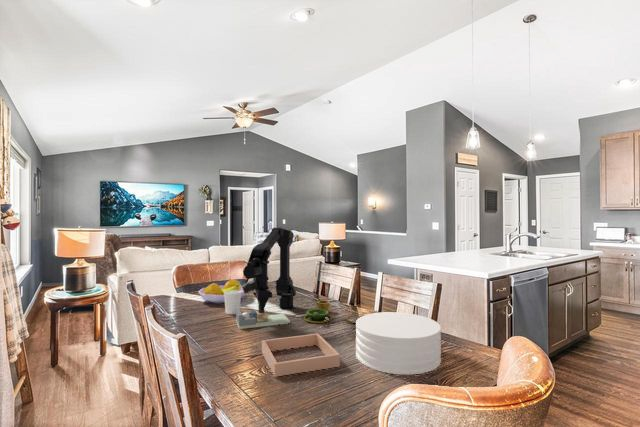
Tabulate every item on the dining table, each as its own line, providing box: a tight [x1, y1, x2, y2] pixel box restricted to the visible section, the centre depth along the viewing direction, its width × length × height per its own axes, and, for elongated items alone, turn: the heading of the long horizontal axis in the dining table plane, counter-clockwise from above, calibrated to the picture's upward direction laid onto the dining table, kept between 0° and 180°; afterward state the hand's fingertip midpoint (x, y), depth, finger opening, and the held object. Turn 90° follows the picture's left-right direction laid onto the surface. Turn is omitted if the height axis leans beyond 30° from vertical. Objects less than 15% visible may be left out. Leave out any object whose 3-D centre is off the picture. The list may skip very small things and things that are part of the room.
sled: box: [251, 300, 269, 322], centre depth 160 cm, size 6×6×8 cm
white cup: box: [224, 290, 242, 315], centre depth 175 cm, size 8×8×10 cm
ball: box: [242, 311, 250, 319], centre depth 158 cm, size 4×4×4 cm
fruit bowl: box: [197, 278, 247, 304], centre depth 199 cm, size 28×27×11 cm
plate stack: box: [355, 311, 442, 374], centre depth 122 cm, size 28×28×12 cm
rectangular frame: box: [261, 332, 341, 377], centre depth 120 cm, size 21×21×4 cm
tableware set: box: [295, 299, 364, 329], centre depth 160 cm, size 41×28×6 cm
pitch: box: [235, 308, 291, 330], centre depth 160 cm, size 22×12×6 cm, turn 110°
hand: (261, 309), depth 160 cm, fingers closed on sled, 3 cm apart
